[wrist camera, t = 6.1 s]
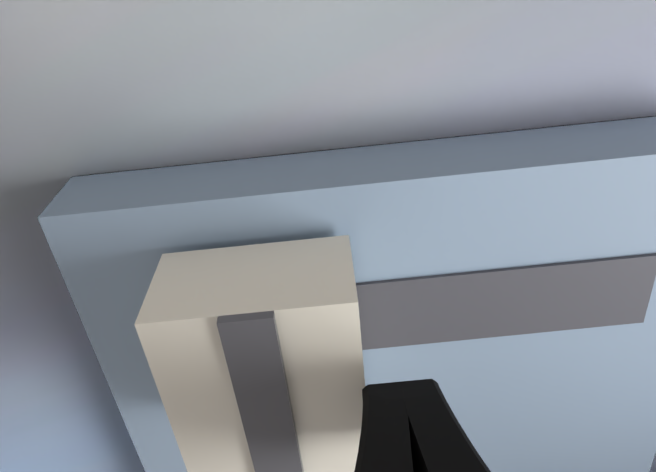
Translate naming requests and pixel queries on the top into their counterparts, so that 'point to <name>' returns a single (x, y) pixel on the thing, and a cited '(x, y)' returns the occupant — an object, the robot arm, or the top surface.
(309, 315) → the knob
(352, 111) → the top surface
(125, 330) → the switch unit
